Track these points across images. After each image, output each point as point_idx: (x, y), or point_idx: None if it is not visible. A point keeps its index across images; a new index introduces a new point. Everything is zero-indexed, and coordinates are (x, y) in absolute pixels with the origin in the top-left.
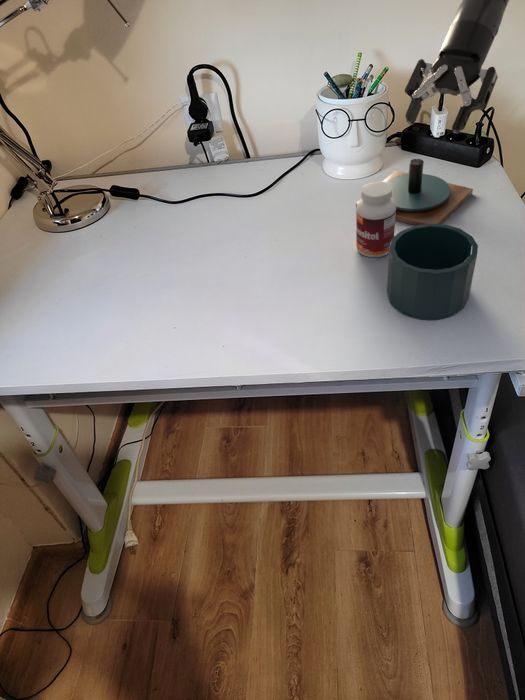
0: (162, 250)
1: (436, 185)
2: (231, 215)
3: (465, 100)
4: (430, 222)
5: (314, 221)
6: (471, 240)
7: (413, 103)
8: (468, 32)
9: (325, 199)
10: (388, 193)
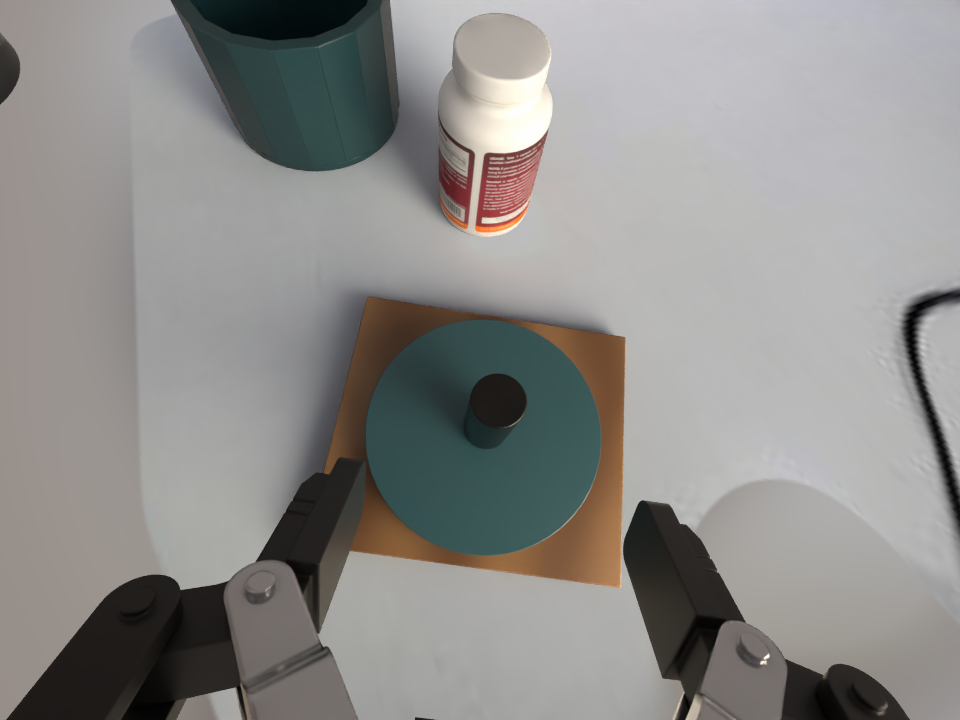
0: (881, 83)
1: (426, 483)
2: (876, 219)
3: (279, 602)
4: (384, 309)
5: (678, 255)
6: (188, 8)
7: (707, 588)
8: None
9: (724, 357)
10: (456, 33)
